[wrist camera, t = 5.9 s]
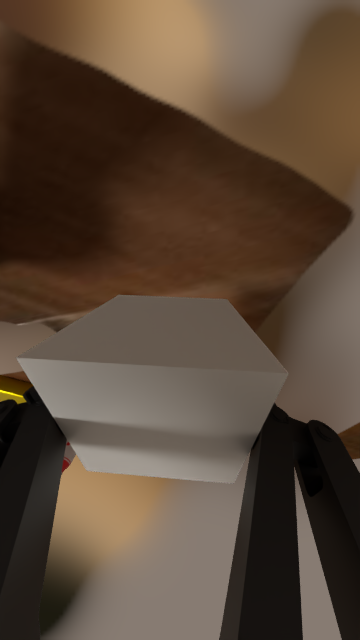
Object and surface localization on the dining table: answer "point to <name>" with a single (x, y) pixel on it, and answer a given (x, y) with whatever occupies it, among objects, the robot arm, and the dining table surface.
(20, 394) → the element tile
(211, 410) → the white cube
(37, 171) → the dining table surface
